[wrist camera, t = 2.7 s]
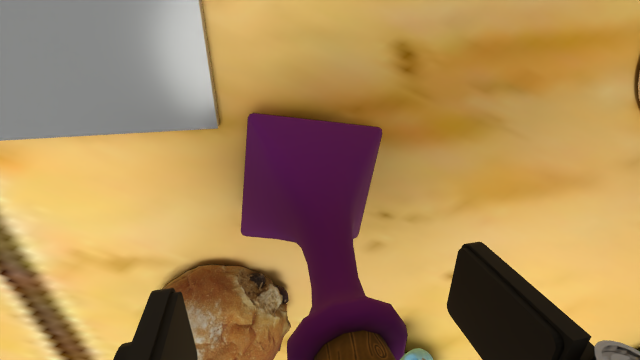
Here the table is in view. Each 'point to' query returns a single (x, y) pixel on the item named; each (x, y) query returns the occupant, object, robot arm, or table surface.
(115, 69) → the slate tile
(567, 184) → the table surface
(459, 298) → the robot arm
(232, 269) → the bread roll
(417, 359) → the decorative pot
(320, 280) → the perfume bottle
